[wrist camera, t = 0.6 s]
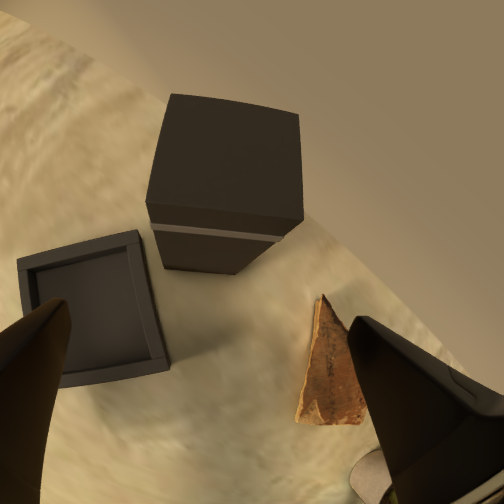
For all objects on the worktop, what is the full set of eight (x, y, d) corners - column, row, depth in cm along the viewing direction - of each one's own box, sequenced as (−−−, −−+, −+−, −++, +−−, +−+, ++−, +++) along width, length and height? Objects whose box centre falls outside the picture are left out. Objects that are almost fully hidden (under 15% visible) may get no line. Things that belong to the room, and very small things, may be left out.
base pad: (170, 365, 20) (170, 370, 17) (52, 384, 16) (41, 390, 14) (141, 237, 21) (137, 228, 19) (28, 264, 18) (16, 258, 16)
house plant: (431, 458, 23) (530, 485, 7) (350, 533, 18) (435, 596, 3) (400, 389, 24) (540, 407, 8) (295, 481, 19) (406, 583, 4)
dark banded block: (235, 275, 22) (305, 222, 10) (163, 269, 21) (143, 203, 9) (238, 214, 24) (300, 113, 11) (170, 206, 22) (169, 92, 10)
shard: (314, 295, 24) (324, 293, 22) (382, 311, 25) (394, 310, 23) (287, 419, 21) (295, 425, 19) (360, 420, 22) (371, 425, 20)
